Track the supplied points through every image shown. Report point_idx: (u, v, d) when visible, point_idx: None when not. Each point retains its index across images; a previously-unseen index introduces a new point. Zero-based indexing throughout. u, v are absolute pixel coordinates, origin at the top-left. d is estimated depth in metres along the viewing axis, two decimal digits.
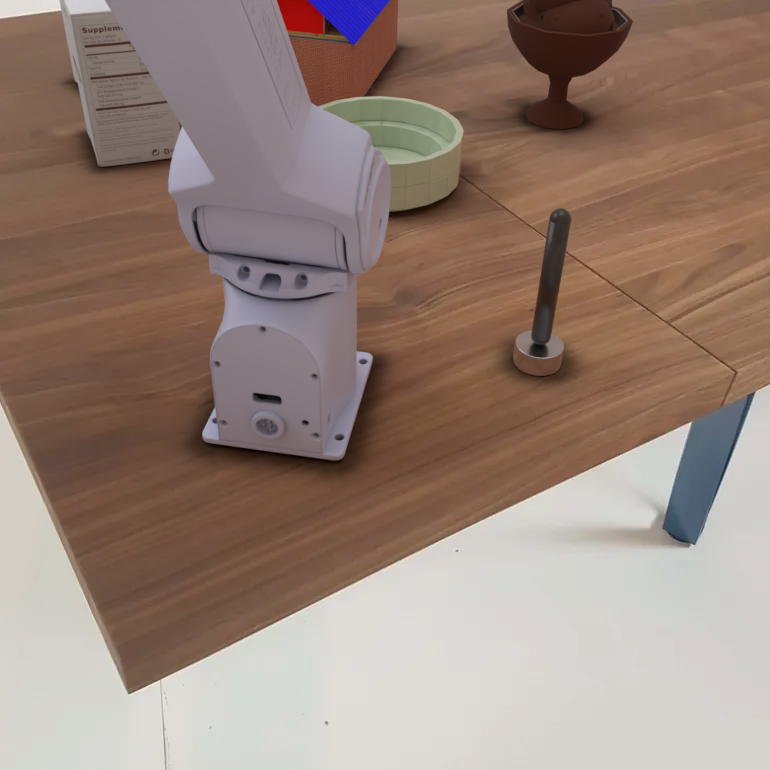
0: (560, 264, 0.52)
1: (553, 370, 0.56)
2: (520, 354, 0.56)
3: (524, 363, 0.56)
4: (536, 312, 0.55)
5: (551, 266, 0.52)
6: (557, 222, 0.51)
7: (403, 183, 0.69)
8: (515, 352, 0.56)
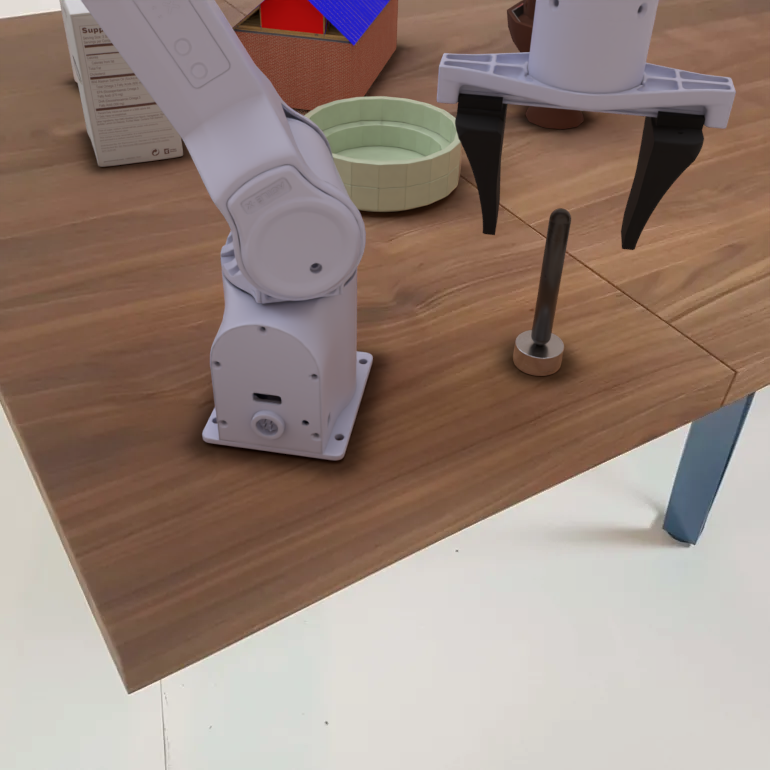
0: (560, 264, 0.52)
1: (553, 370, 0.56)
2: (520, 354, 0.56)
3: (524, 363, 0.56)
4: (536, 312, 0.55)
5: (551, 266, 0.52)
6: (557, 222, 0.51)
7: (403, 183, 0.69)
8: (515, 352, 0.56)
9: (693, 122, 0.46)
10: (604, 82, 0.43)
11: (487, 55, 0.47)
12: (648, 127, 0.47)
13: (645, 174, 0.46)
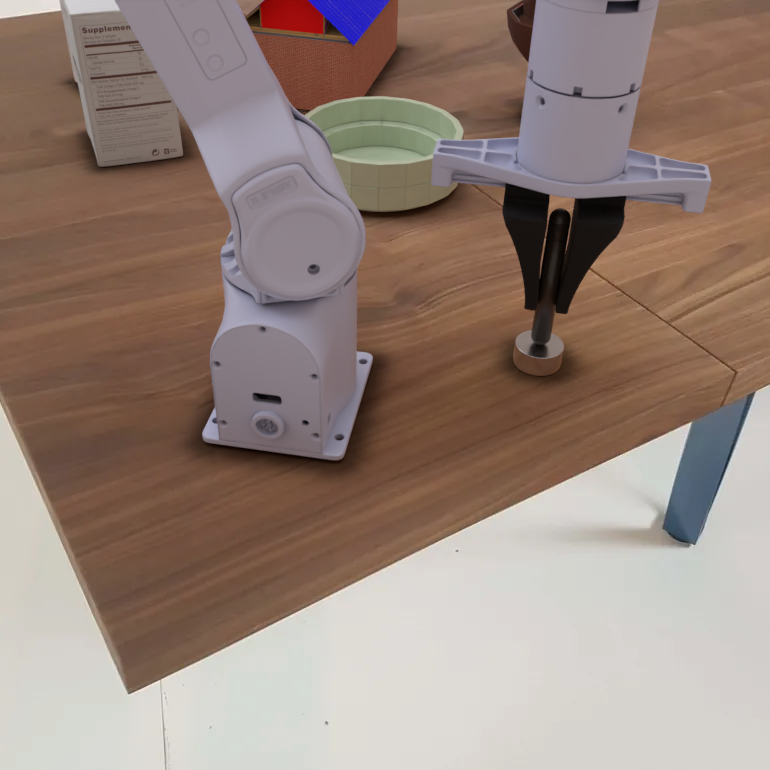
0: (559, 264, 0.52)
1: (553, 370, 0.56)
2: (520, 354, 0.56)
3: (524, 363, 0.56)
4: (536, 312, 0.55)
5: (551, 266, 0.52)
6: (557, 222, 0.51)
7: (403, 183, 0.69)
8: (515, 352, 0.56)
9: (615, 201, 0.49)
10: (587, 173, 0.46)
11: (479, 141, 0.50)
12: (576, 203, 0.51)
13: (572, 248, 0.50)
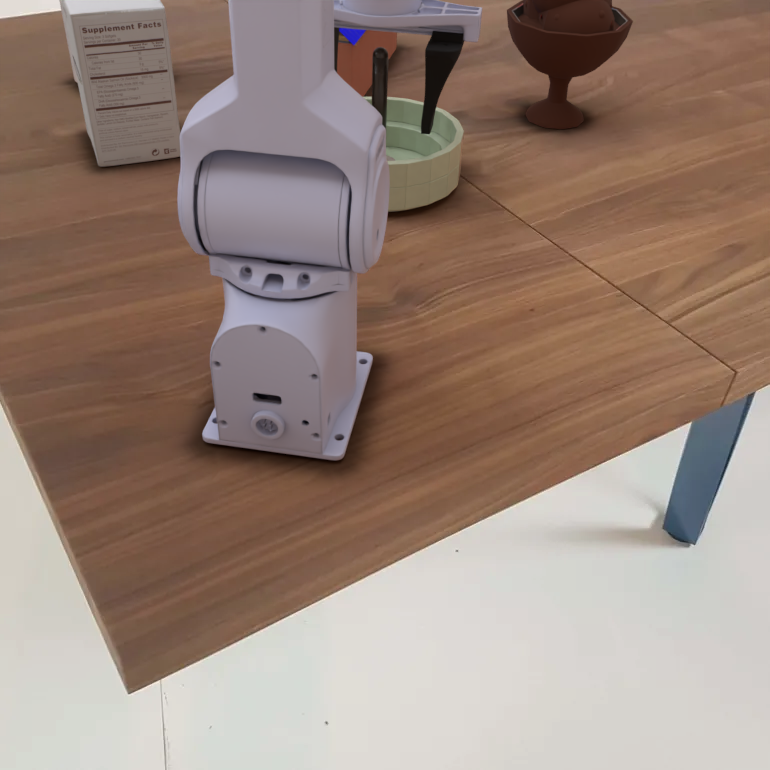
0: (383, 92, 0.70)
1: None
2: None
3: None
4: None
5: (377, 93, 0.70)
6: (377, 56, 0.68)
7: (403, 183, 0.69)
8: None
9: (455, 38, 0.66)
10: (387, 7, 0.64)
11: None
12: None
13: (425, 75, 0.67)
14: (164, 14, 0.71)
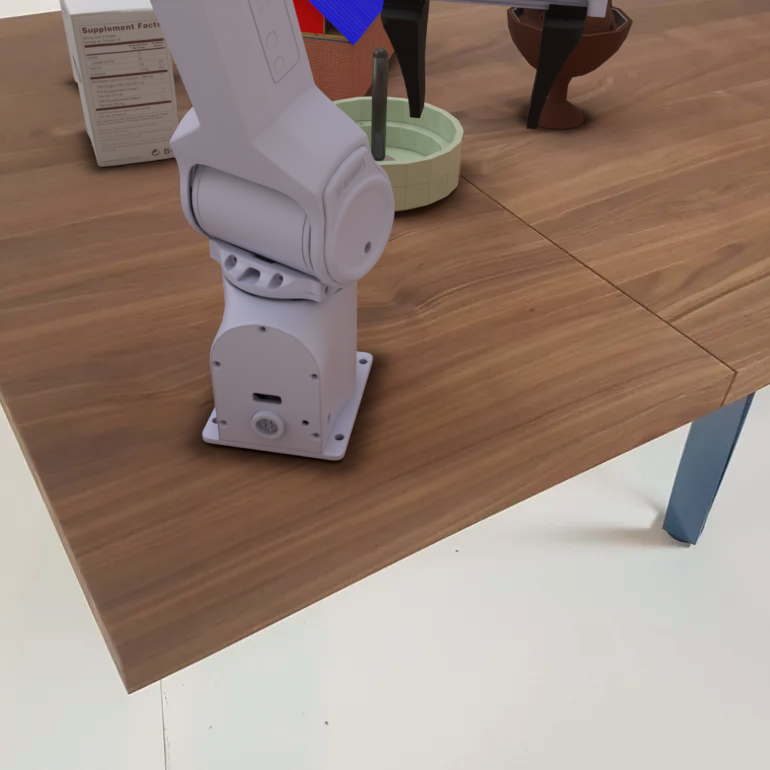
0: (383, 92, 0.70)
1: None
2: None
3: None
4: (371, 134, 0.72)
5: (377, 93, 0.70)
6: (377, 56, 0.68)
7: (403, 183, 0.69)
8: None
9: (577, 12, 0.55)
10: None
11: None
12: None
13: (539, 57, 0.56)
14: None
